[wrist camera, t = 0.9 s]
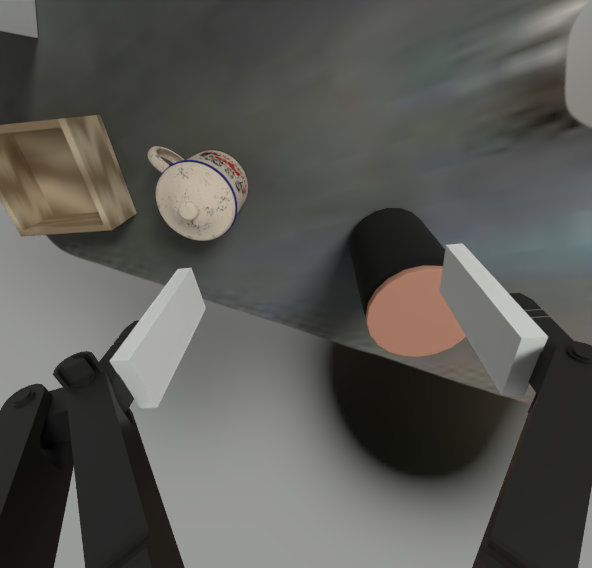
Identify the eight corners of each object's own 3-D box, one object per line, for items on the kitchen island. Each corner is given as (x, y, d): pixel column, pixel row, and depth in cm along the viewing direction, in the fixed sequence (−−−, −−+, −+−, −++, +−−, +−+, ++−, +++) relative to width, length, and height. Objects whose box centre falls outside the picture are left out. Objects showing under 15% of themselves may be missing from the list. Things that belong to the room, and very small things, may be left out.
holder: (7, 124, 39) (-43, 129, 34) (100, 114, 38) (64, 118, 33) (56, 219, 46) (21, 236, 40) (136, 213, 45) (112, 230, 39)
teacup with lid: (264, 182, 42) (248, 211, 32) (224, 228, 45) (199, 266, 35) (188, 113, 38) (143, 120, 28) (152, 169, 41) (101, 194, 32)
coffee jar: (350, 276, 48) (367, 360, 33) (346, 210, 43) (364, 275, 28) (421, 268, 47) (473, 353, 32) (426, 199, 42) (491, 262, 26)
